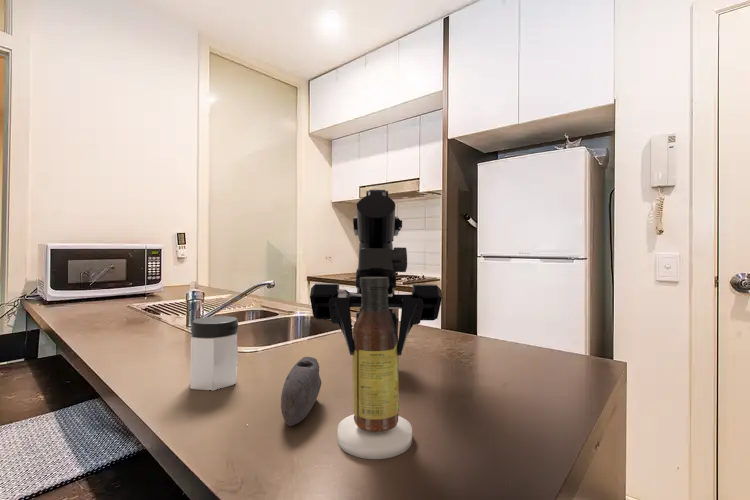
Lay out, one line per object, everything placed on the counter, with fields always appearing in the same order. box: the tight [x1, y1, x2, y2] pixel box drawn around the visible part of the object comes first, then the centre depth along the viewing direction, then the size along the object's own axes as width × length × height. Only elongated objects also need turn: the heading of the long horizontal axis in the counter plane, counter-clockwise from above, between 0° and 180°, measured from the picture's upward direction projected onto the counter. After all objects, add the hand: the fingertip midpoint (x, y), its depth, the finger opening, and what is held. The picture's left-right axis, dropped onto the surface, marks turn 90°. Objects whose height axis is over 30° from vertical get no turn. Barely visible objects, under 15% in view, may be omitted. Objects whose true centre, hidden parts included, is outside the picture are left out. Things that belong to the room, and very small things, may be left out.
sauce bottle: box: [352, 276, 400, 432], centre depth 50 cm, size 6×6×20 cm
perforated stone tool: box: [280, 356, 322, 427], centre depth 58 cm, size 15×5×7 cm, turn 177°
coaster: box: [337, 413, 413, 460], centre depth 50 cm, size 10×10×2 cm
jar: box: [189, 315, 239, 392], centre depth 70 cm, size 9×8×12 cm
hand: (375, 353), depth 49 cm, fingers closed on sauce bottle, 6 cm apart
